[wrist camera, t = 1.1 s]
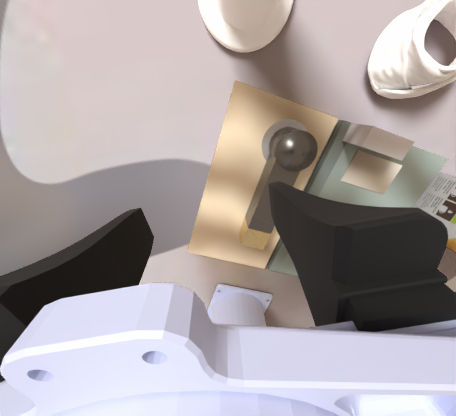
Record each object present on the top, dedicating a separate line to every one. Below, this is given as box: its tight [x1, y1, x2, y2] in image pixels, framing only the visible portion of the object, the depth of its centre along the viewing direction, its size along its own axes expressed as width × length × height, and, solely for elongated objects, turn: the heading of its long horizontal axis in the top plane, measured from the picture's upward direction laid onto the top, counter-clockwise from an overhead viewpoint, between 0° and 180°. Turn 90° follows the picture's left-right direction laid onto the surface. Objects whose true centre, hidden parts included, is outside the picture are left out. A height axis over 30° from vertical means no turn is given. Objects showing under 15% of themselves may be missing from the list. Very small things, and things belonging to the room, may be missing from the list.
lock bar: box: [239, 127, 318, 250], centre depth 20 cm, size 12×3×3 cm, turn 163°
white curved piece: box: [367, 0, 456, 99], centre depth 16 cm, size 8×7×5 cm
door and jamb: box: [187, 81, 449, 276], centre depth 22 cm, size 18×22×4 cm
